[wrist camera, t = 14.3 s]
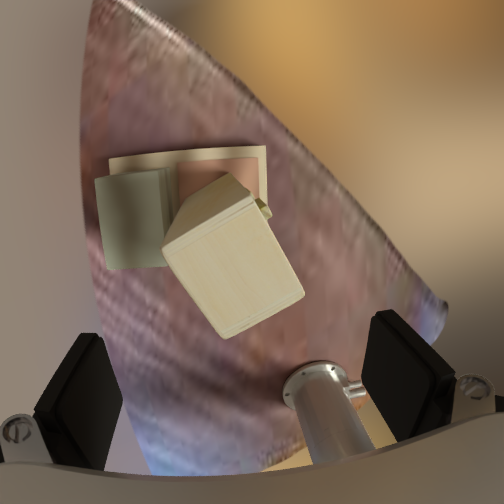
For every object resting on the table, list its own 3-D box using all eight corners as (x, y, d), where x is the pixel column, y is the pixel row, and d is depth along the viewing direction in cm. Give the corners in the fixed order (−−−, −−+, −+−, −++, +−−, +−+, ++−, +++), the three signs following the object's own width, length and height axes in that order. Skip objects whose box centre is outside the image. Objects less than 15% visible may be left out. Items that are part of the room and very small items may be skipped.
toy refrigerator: (266, 222, 40) (316, 292, 20) (217, 250, 41) (221, 343, 21) (236, 168, 38) (259, 185, 18) (185, 198, 38) (152, 248, 18)
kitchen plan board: (262, 146, 40) (278, 143, 30) (265, 246, 45) (280, 275, 34) (115, 158, 38) (84, 161, 28) (126, 255, 43) (102, 286, 32)
